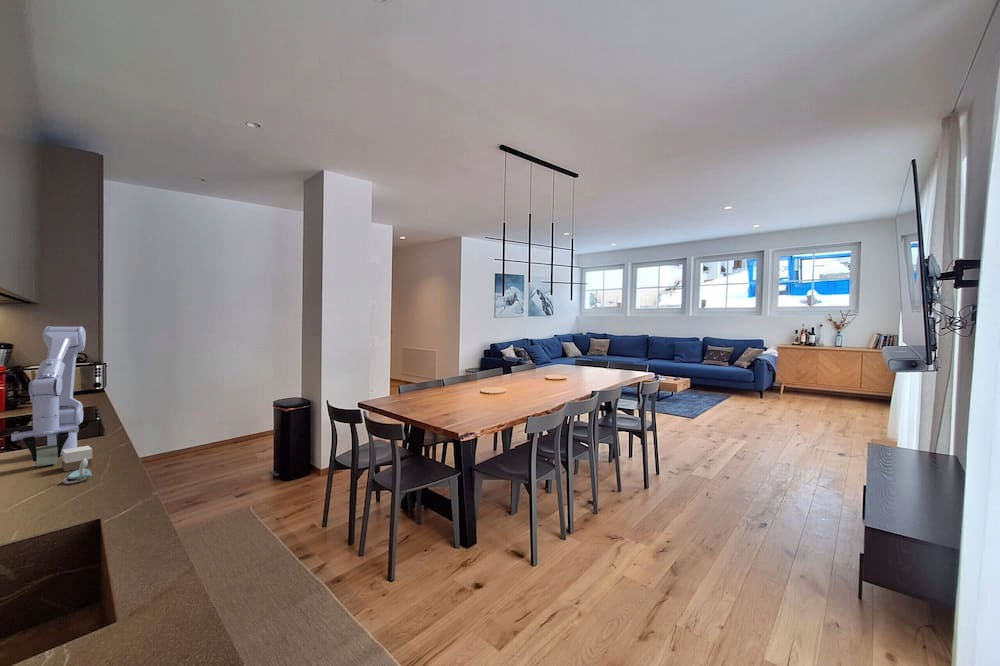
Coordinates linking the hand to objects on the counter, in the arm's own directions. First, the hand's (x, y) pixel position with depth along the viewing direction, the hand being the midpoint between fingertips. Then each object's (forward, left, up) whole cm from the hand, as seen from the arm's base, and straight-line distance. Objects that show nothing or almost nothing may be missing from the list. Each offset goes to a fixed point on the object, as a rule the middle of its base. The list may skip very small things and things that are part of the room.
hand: (46, 458), depth 135 cm
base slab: (+9, +6, -3) cm, 11 cm away
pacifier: (+24, +4, -3) cm, 25 cm away
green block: (0, 0, -1) cm, 1 cm away
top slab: (+9, +6, 0) cm, 11 cm away
